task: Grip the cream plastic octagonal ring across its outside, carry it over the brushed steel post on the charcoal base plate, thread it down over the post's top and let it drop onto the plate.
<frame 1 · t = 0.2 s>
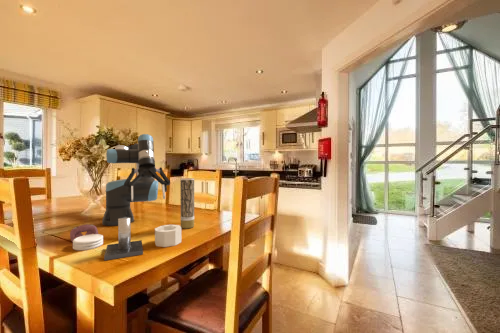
hand: (148, 198, 108), 16 cm above the table, tool tilted 35°, fingers open, 13 cm apart
ring: (168, 242, 97), on the table
coaster: (88, 246, 93), on the table
paper tube: (187, 227, 120), on the table
purple curved piece: (84, 239, 101), on the table
post stand: (124, 251, 87), on the table
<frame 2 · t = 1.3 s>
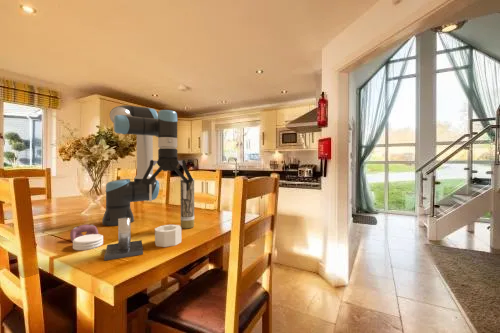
hand: (168, 199, 97), 18 cm above the table, tool pointing down, fingers open, 13 cm apart
nothing on the table moved.
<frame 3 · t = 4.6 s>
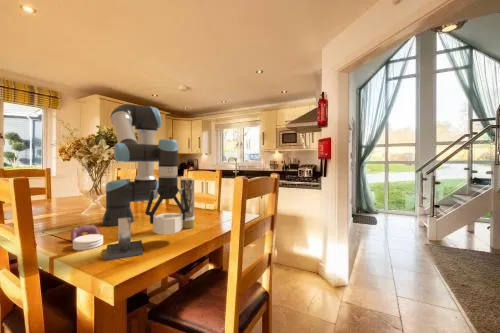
hand: (167, 229, 98), 5 cm above the table, tool pointing down, fingers closed on ring, 10 cm apart
ring: (167, 230, 98), point 5 cm above the table, touching gripper
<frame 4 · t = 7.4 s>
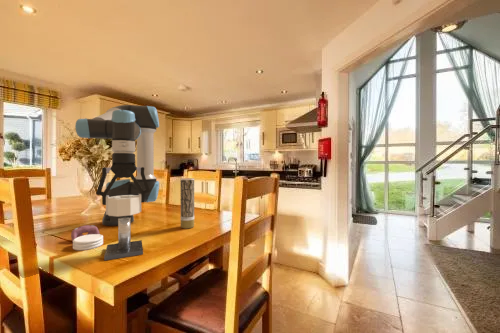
hand: (124, 212, 87), 15 cm above the table, tool pointing down, fingers closed on ring, 10 cm apart
ring: (124, 213, 87), point 14 cm above the table, touching gripper
when the fingers open (6 cm above the table, at t = 10.1 s): ring drops 4 cm, resting on post stand.
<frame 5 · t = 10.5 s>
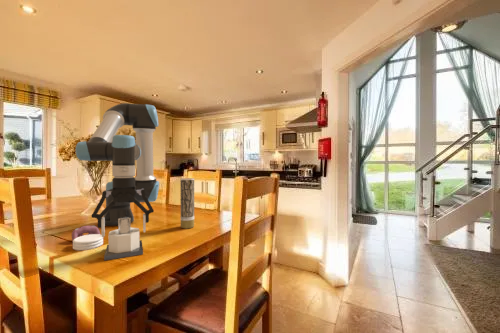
hand: (124, 233, 87), 7 cm above the table, tool pointing down, fingers open, 13 cm apart
ring: (124, 247, 87), point 1 cm above the table, touching post stand
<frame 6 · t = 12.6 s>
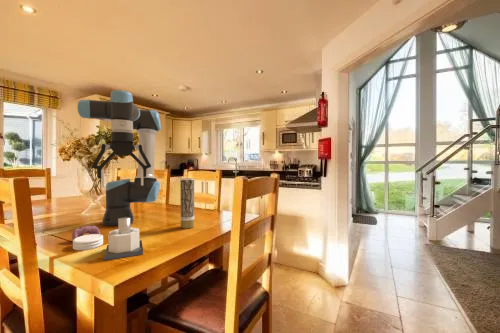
hand: (123, 186, 92), 24 cm above the table, tool pointing down, fingers open, 13 cm apart
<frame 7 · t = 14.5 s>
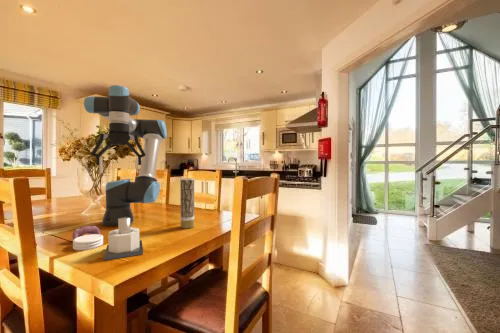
hand: (119, 173, 100), 29 cm above the table, tool pointing down, fingers open, 13 cm apart
at the end: ring 0.1 cm from the post stand (horizontally); ring point 1.5 cm above the table; the gripper is holding nothing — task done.
